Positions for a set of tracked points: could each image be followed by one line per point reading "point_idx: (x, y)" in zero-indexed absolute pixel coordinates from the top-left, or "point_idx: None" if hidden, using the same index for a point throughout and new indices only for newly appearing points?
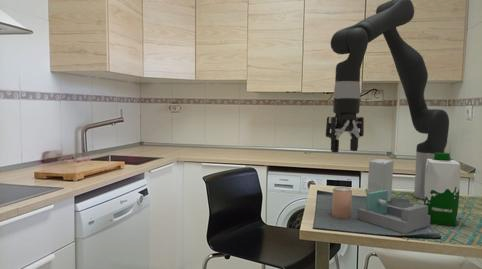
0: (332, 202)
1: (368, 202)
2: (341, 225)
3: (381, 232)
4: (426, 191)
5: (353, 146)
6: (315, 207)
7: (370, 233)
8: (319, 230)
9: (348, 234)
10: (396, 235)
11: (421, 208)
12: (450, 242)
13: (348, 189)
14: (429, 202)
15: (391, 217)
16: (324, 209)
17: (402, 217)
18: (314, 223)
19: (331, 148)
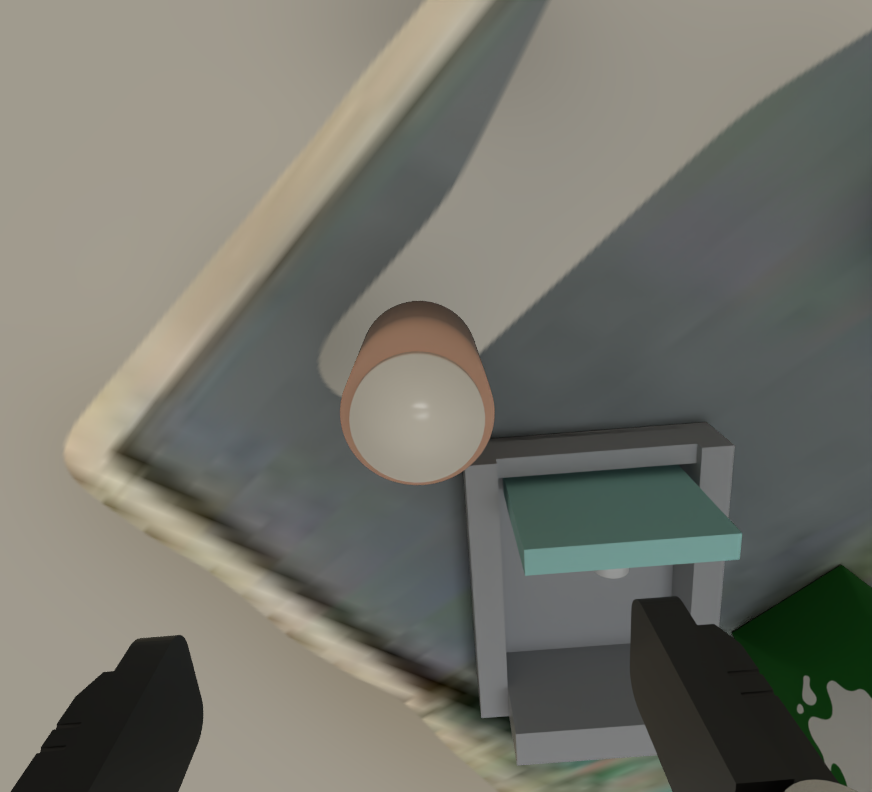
0: (365, 342)
1: (515, 529)
2: (292, 482)
3: (399, 625)
4: (853, 743)
5: (657, 704)
6: (399, 112)
7: (340, 614)
8: (129, 491)
9: (232, 584)
10: (428, 672)
11: (638, 751)
12: (552, 789)
13: (427, 474)
14: (800, 712)
15: (497, 646)
16: (424, 189)
17: (509, 702)
18: (169, 396)
19: (80, 710)
